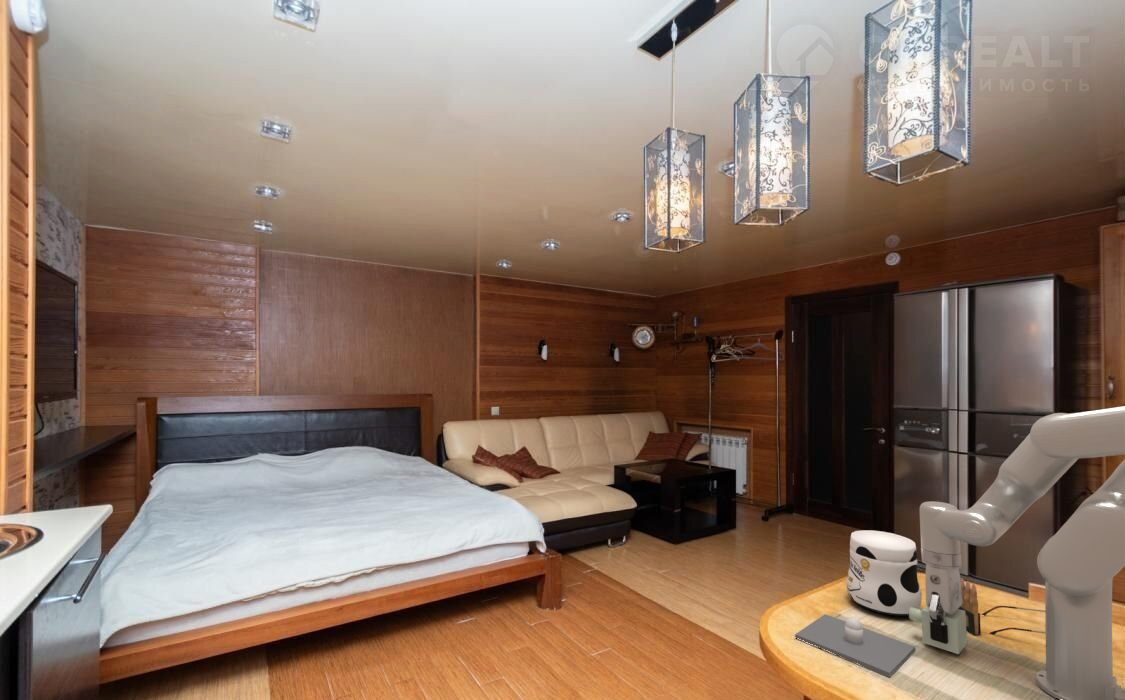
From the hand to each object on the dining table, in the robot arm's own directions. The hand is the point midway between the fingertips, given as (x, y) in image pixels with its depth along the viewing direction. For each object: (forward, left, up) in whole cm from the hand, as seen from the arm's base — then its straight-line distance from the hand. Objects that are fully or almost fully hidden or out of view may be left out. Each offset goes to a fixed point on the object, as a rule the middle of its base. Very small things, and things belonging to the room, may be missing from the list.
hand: (944, 635), depth 121 cm
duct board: (+14, +15, -3) cm, 21 cm away
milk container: (+17, -12, -3) cm, 21 cm away
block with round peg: (+2, 0, -2) cm, 2 cm away
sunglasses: (-11, -24, -3) cm, 27 cm away
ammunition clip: (+1, -16, -3) cm, 16 cm away
